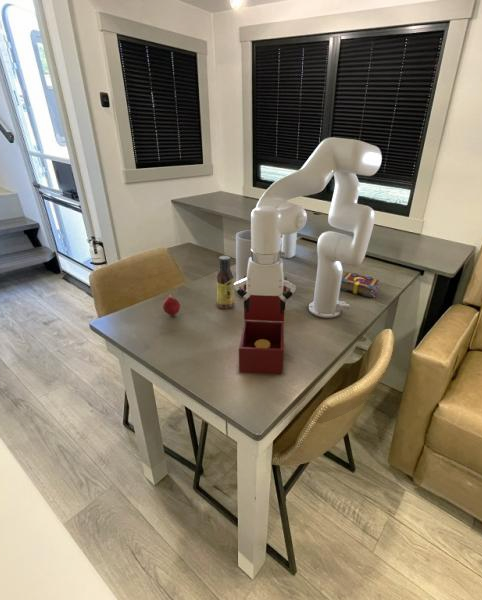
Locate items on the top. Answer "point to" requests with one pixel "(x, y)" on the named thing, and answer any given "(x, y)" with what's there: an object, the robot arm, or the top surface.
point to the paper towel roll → (289, 244)
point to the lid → (264, 307)
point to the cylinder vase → (242, 254)
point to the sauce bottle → (225, 284)
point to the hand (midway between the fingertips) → (264, 310)
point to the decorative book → (359, 284)
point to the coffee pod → (262, 343)
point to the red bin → (261, 357)
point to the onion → (171, 306)
